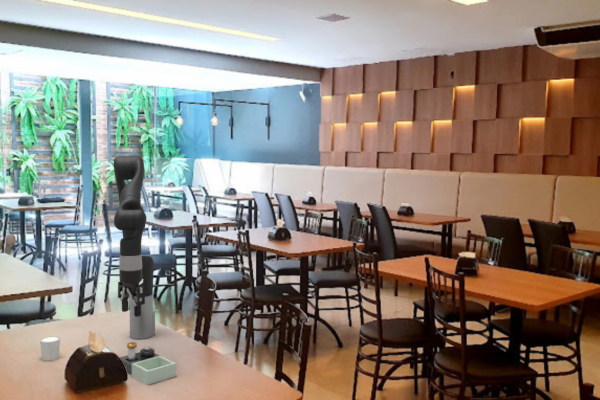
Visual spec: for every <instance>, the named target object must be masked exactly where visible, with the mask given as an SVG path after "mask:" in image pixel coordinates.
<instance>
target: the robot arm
mask: <svg viewBox="0 0 600 400" xmlns="http://www.w3.org/2000/svg"><path fill="white" fill-rule="evenodd" d="M113 170H114V171H113V172H114V178H115V184H116V189H117V194H118V195H117V196H118V202H119V203H118V205H119V206H118V208H117V210H116V212H115V213H114V217H113V224H114V227H115V228H116V229H117V230H119V231H122V232H121V233H122V238H121V239H120V240H119V262H118V263H119V268H118V269H119V281H118V283H117V298H118V299H120V302H121V312H123V313H125V312H128V311H129V337H130V338H131V339H135V340H143V339H149V338H151V337H153V336H155V335H156V313H155V311H154V302H153V301H154V295H153V294H154V290H153V289H154V270H155V262H154V259H153V257H152V256H151V255H150V256H149V255H142V241H143V240H142V239H143V234H144V231H145V228H146V224H147V214H146V212H145V209H144V207H143V205H141V203H142V202H141V200H142V199H141V198H142V197H141V195H142V189H143V183H144V178H145V177H144V176H145V163H144V160H143V157H142V156H141V155H135V154H134V155H124V156H123V155H120V156H119V155H118V156H116V157H115V158H114V159H113ZM126 181H129V182H127V184H126ZM140 282H141V283H140Z"/></svg>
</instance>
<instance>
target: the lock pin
mask: <svg viewBox="0 0 600 400" xmlns="http://www.w3.org/2000/svg"><path fill="white" fill-rule="evenodd" d="M126 347H127V355H128V361H129V362H131V361H135V360H136V353H137V351H136V348H137V342H136V341H134V342H133V341H132V342H128V343H126Z"/></svg>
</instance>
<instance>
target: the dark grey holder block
mask: <svg viewBox="0 0 600 400" xmlns="http://www.w3.org/2000/svg"><path fill="white" fill-rule="evenodd" d="M157 356H161V355H160V354H157V353H156V352H155V349H154V348H152V347H150V346H145V347H144V348H142V349H140V350H139V352H136V360H135V361H131V362H129V361H128V354H127V355H124V356H123V355H122V356H120V357H118V358H120V359H121V360H122V362H123V363H124V365H125V367H126V370H127V372H128V373H127V374H128V375H130V376H132V363H135V362H139V361H142V360H146V359H150V358H153V357H157Z"/></svg>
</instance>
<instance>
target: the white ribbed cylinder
mask: <svg viewBox="0 0 600 400" xmlns="http://www.w3.org/2000/svg"><path fill="white" fill-rule="evenodd" d="M39 344H40V352H41V360H43V361H46V362H47V361H49V362H50V361H54V360H55V361H56V360H57V359H60V358H59V357H60V346H61V337H59V336H48V337H46V336H45V337H44V338H43V337H42V338H41V339H39Z"/></svg>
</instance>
